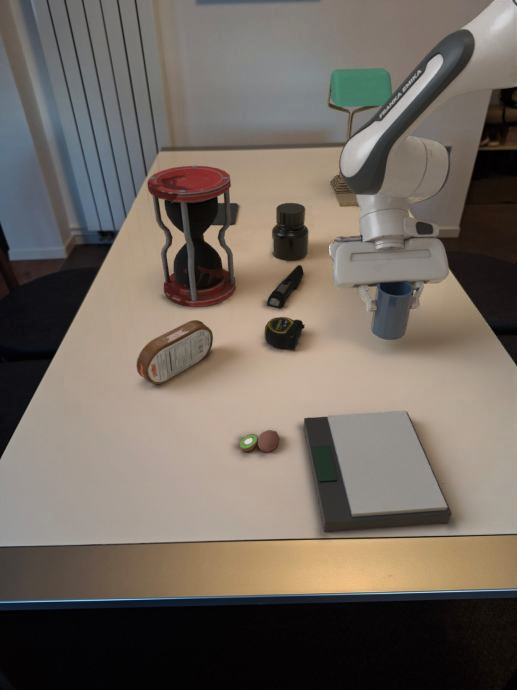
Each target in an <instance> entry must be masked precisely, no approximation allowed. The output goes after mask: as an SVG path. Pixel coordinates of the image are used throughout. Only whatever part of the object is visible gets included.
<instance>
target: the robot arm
mask: <svg viewBox="0 0 517 690" xmlns="http://www.w3.org/2000/svg"><path fill="white" fill-rule="evenodd" d="M511 88H517V0H493V1H492V2H491V3H489V5H487V7H486V8H484V9H483V10H482V11H481V12H480V13H479V14H478V15H477V16H475V17H474V18H473V19H472V20H471V21H469V22H468V23H467V24H466V25H464V26H462V27H461V28H459V29H458V30H455V31H454V32H451V33H449V34H447V35H446V36H445V37H443V38H441V40H440V41H439V42H438V43H437V44H435V46H433V47H432V49H431V50H430V51H429V52H428V53H427V54H426V55H425V56H424V58H422V59H421V61H420V62H419V63H418V64H417V65H416V66H415V67H414V68H413V70H412V71H411V72H410V73H409V74H408V76H407V77H406V78H405V79H404V80H403V82H401V84H400V85H399V86H398V87H397V88H396V89H395V91H394V92H392V95H391V97H390V98H389V99H388V100H387V101H386V102H385V104H384V105H383V106H380V107H379V109H378V110H377V112H376V113H375V114H373V116H372V117H371V118H369V120H367V121H366V123H365V124H363V125H361V126H360V128H358V129H356V131H355V132H353V134H351V137H350V138H349V137H348V141H347V142H346V141H345V143H344V145H343V147H342V149H341V152H340V154H339V155H340V156H339V162H338V164H339V165H338V168H339V171H340V173H341V176H342V178H343V180H344V182H345V184H346V185H347V186H348V188H349V189H350V190H351V191H352V192H353V193H354V194H356V197H357V202H358V204H359V206H358V207H359V217H358V226H359V227H358V228H359V235H350V236H336V237H335V238H334V239H333V240H331V241H330V243H329V245H328V254H329V258H330V260H332V267H331V283H332V285H333V286H334V287H335V288H336V289H337V290H345V289H357V294H358V296H359V297H360V298H361V300H362V301H363V302H364V304H365V312H366V313H370V312H371V313H373V311H376V310H377V306H376V300H375V299H372V298H371V297H370V295H369V293H368V291H369V290H370V289H369V288H377V284H378V283H391V282H406V281H407V282H409V283H410V284H412V286H413V287H414V293H413V298H412V303H411V308H410V310H418V309H420V307H421V305H420V297H421V295H422V294H423V291H424V289H425V285H432V284H440V283H442V282H444V281H445V280H446V279H447V277H448V276H449V274H450V267H449V260H448V257H447V253H446V249H445V246H444V244H443V242H442V241H441V239H439V238H437V237H438V236H439V234H440V227H439V225H438V224H436V223H433V222H429V221H425V220H421V219H417V218H414V217H412V216H410V212H409V207H410V206H411V205H412V204H417V203H421V202H424V201H427V200H430V199H432V198H433V197H435V196H437V195H438V194H439V193H440V192H441V191H442V189H444V187H445V185H446V184H447V182H448V180H449V177H450V173H451V156H450V154H449V151H448V149H447V147H446V145H444V144H443V143H442V142H441V141H438V140H437V141H436V140H433V139H430V138H425V137H420V136H415V135H414V136H413V135H411V134H412V133H413V132H415V131H416V129H417V128H418V127H419V126H420V125H421V124H422V123H423V122H424V121H425V120H426V119H427V118H428V117H429V116H430V115H431V114H432V112H434V111H435V110H436V109H437V108H438V107H440V105H442V104H444V103H446V102H447V101H450V100H452V99H453V98H457V97H459V96H463V95H467V94H471V93H476V92H482V91H490V90H502V89H503V90H504V89H511Z"/></svg>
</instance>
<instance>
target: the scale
mask: <svg viewBox="0 0 517 690" xmlns="http://www.w3.org/2000/svg"><path fill="white" fill-rule="evenodd" d="M303 431H304V437H305V442H306V447H307V452H308V458H309V462H310V467H311V473H312V477H313V482H314V488H315V494H316V498H317V505H318V508H319V513H320V519H321V524H322V529H323V533H333V532H347V531H348V532H349V531H360V530H371V529H386V528H400V527H413V526H427V525H428V526H429V525H441V524H449V522H450V519H451V517H452V510H451V509H450V506H449V504H448V501H447V499H446V497H445V495H444V492H443V489H442V488H441V485H440V483H439V480H438V479H437V477H436V475H435V472H434V470H433V468H432V465H431V463H430V460H429V458H428V456H427V453H426V450H425V449H424V446H423V444H422V442H421V440H420V438H419V435H418V433H417V431H416V428H415V426H414V424H413V422H412V419H411V417H410V415H409V413H408V411H407V410H396V411H395V410H393V411H380V412H379V411H378V412H363V413H362V412H361V413H347V414H346V413H345V414H332V415H330V414H329V415H327V416H315V417H313V416H312V417H304V418H303Z"/></svg>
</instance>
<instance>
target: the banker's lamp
mask: <svg viewBox="0 0 517 690" xmlns="http://www.w3.org/2000/svg"><path fill="white" fill-rule="evenodd" d="M392 87H393V86H392V77H391V73H390V72H389V71H388V70H387V69H385V68H382V67H375V68H373V67H371V68H339V69H338V68H337V69H333V70H332V71H331V74H330V79H329V87H328V95H327V107H328V108H329V109H332V110H335V111H339V112H343V113H347V114H348V115H347V116H348V117H347V127H346V136H345V143H346V142H347V141H348V139H349V138H350V137H351V136H352V130H353V121H354V116H355V115H356V114H357V113H361V112H362V113H363V112H365V111H369V110H372V109H377V108H380V107H382V106H383V105H384V104H385V102H386V101H387V100H388V99H389V98H390V97H391V95H392V94H393V89H392ZM331 101H332V102H333V103H334V104H333V103H330V102H331ZM350 107H352V108H354V107H358V108H355V109H353V110H352V112H351V111H350V109H347V108H350ZM329 185H330V187H331V190H332V192H333V194H334V196H335V200H336V201H337V204H338V206H339V207H340V208H342V207H343V208H347V207H359V204H358V202H357V197H356V194H354V193H353V192H352V191H351V190H350V189H349V188H348V186H347V185H346V184H345V182H344V180H343V178H342V176H341V173H340V170H339V171H338V174H336V175H334V176H333V177H332V179H331V180H329Z"/></svg>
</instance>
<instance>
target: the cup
mask: <svg viewBox="0 0 517 690" xmlns="http://www.w3.org/2000/svg"><path fill="white" fill-rule="evenodd" d="M414 294H415V290H414V287H413V286H412V284H410V283H409V282H407V281H406V282H391V283H378V284H377V287H375V296H374V300H376V306H377V310H376V311H373V312H372V318H371V323H370V331H371V332H372V334H373V335H375V336H376V337H377V338H379V339H382V340H385V341H395V340H397V341H398V340H400V339H402V338H404V336H406V333H407V329H408V323H409V319H410V313H411V309H410V308H411V303H412V298H413V296H414Z"/></svg>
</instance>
